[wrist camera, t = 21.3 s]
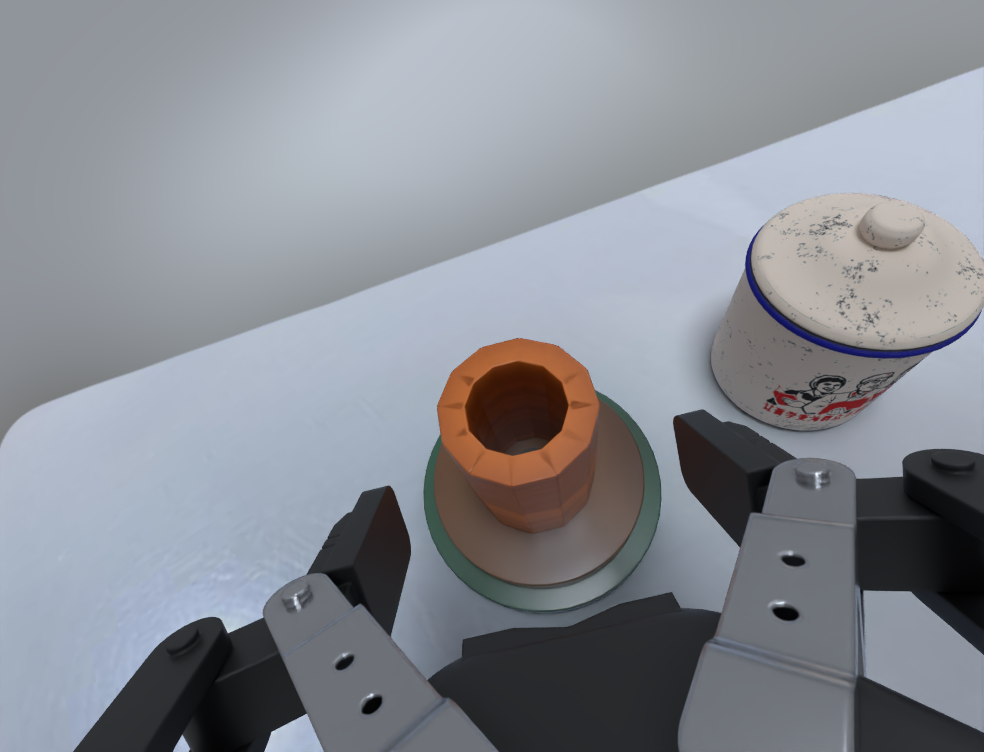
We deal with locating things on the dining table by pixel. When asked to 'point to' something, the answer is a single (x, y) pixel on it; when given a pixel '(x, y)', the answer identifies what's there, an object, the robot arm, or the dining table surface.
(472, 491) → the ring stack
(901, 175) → the dining table surface
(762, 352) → the teacup with lid
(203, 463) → the dining table surface
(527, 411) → the orange hollow cylinder
